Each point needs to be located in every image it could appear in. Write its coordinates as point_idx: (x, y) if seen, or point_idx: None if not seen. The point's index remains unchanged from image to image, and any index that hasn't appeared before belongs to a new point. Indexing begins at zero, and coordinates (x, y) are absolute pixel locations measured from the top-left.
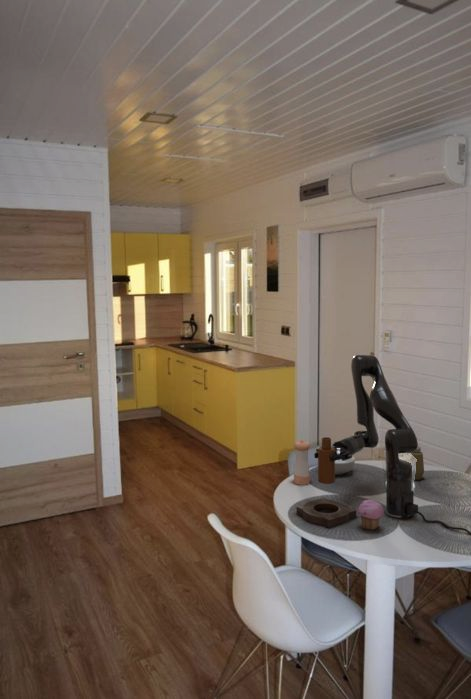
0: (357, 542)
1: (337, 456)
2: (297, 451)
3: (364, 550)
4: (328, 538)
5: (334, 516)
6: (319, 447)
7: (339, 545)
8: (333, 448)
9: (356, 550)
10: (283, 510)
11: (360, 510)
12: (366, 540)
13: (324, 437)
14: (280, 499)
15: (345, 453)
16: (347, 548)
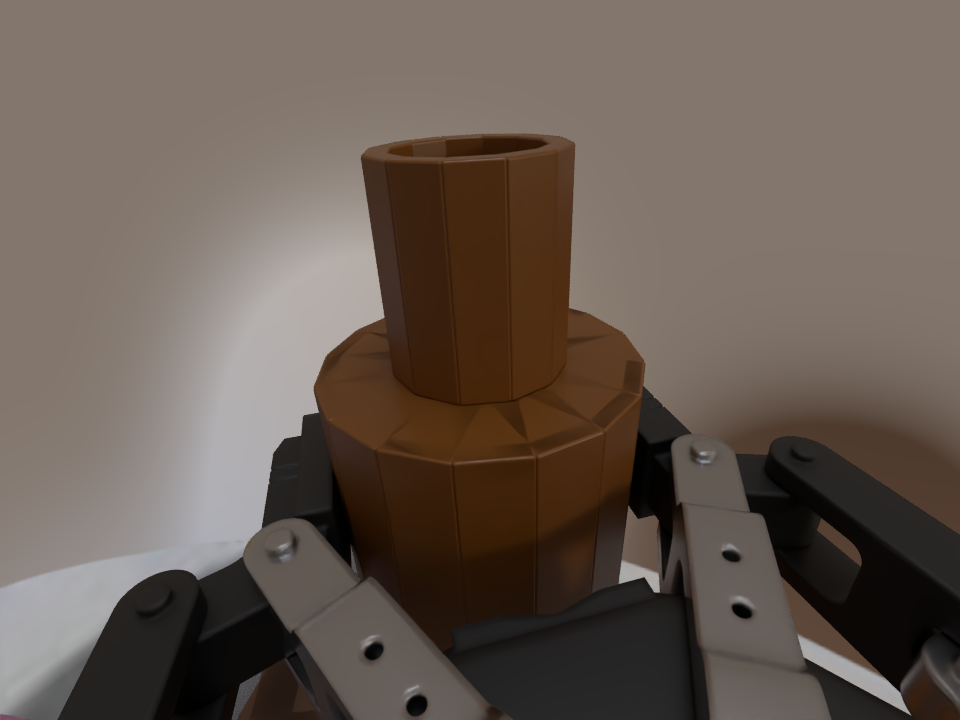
0: (72, 635)
1: (265, 514)
2: None
3: (17, 602)
4: (237, 556)
5: (282, 667)
6: (602, 329)
7: (159, 550)
8: (378, 424)
9: (62, 575)
10: (649, 583)
11: (16, 716)
12: (16, 696)
13: (558, 142)
14: (862, 678)
15: (107, 692)
16: (112, 558)
